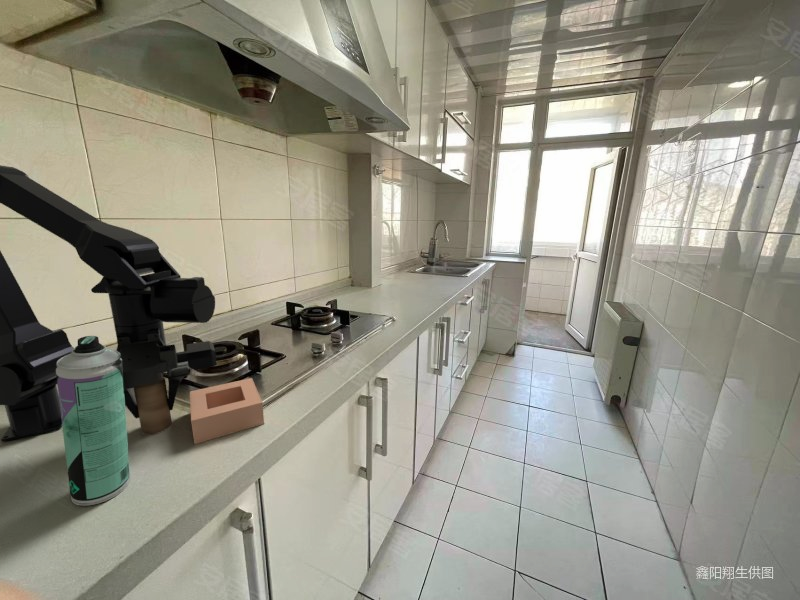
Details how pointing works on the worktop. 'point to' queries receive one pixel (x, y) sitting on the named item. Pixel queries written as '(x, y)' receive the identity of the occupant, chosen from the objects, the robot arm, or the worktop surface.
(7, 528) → the worktop surface
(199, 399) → the socket block
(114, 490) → the spray can
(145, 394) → the peg
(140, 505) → the worktop surface
